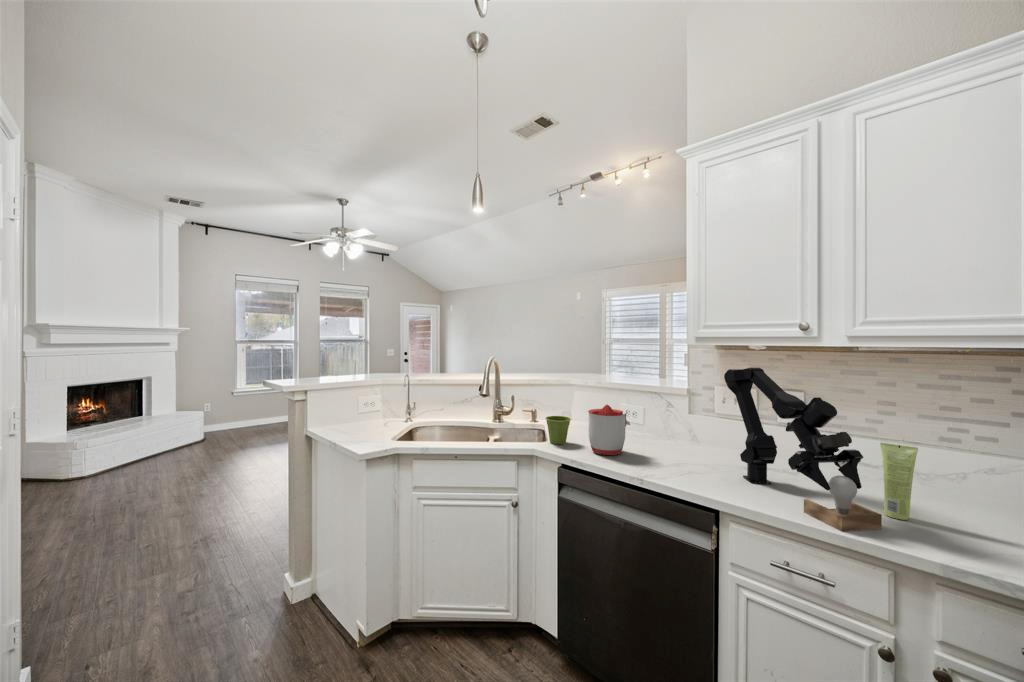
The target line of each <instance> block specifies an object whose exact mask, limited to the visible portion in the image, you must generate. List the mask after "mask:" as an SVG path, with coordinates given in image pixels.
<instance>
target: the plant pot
mask: <svg viewBox="0 0 1024 682" xmlns="http://www.w3.org/2000/svg"><path fill="white" fill-rule="evenodd" d="M544 419H545V420H546V425H547V432H548V438H549V443H550V444H552V445H556V444H557V445H565V444H566V443H567V437H568V433H569V432H568V431H569V426H570V423H571V420H572V418H571V417H570V416H564V415H550V416H545V417H544Z"/></svg>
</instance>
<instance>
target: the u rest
mask: <svg viewBox="0 0 1024 682" xmlns="http://www.w3.org/2000/svg"><path fill="white" fill-rule="evenodd" d="M803 513H804V514H806V515H808V516H810V517H812V518H814V519H816V520H817V521H821V522H822V523H824V524H827V525H828V526H830V527H832V528H834V529H836V530H839V531H840V532H850V531H852V532H855V531H866V530H870V531H871V530H882V520H883V519H882V518H883V517H882V515H883V514H881V513H878V512H876V511H873V510H872V509H870V508H867V507H864V506H862V505H859V504H858V503H857V504H856V502H852V501H851V504H850V509H849V514H843V515H841V514H839V513H837V512H836V508H829V507H826V506H823V505H821V504H819V503H818V502H815V501H812V500H811V499H808V498H805V499H803Z"/></svg>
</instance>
